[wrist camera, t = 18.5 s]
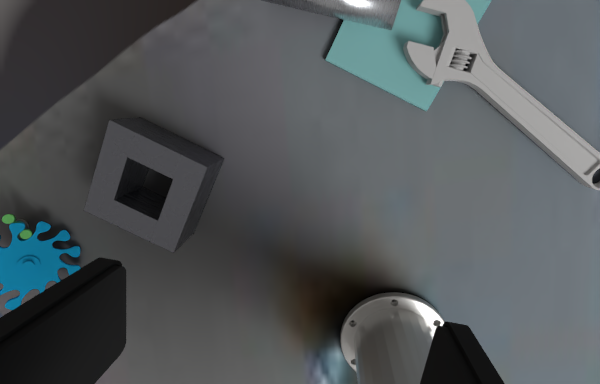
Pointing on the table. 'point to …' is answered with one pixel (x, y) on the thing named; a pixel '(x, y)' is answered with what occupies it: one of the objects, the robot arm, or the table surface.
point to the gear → (31, 259)
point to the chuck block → (131, 175)
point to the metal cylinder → (350, 10)
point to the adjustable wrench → (497, 87)
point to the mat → (393, 51)
